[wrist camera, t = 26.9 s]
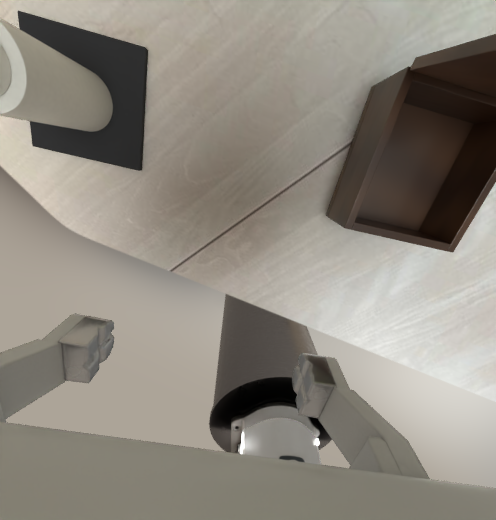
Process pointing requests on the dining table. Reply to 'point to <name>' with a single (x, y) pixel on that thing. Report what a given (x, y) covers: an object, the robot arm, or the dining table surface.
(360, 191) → the chest
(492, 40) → the chest lid
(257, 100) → the dining table surface
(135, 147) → the mat
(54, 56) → the bottle
